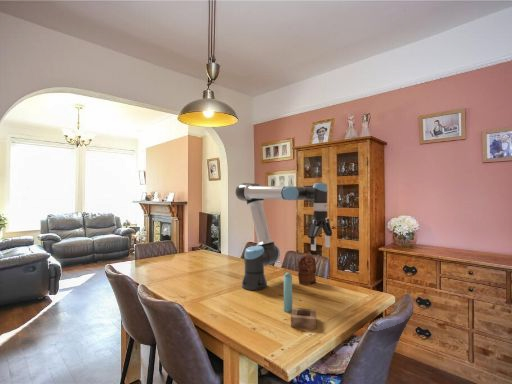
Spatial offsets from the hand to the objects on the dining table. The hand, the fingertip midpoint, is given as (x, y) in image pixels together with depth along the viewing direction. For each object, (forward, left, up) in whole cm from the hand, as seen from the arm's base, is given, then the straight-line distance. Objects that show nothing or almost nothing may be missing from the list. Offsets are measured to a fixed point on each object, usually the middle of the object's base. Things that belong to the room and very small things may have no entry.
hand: (320, 248), depth 151 cm
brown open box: (-7, -38, -25) cm, 46 cm away
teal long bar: (-15, -27, -25) cm, 40 cm away
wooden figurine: (-8, +17, -25) cm, 31 cm away
